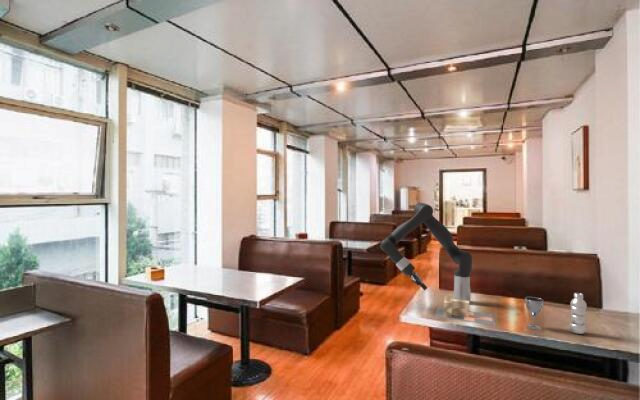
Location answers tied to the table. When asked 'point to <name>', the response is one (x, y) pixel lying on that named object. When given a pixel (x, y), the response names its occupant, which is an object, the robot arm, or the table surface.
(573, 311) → the plastic bottle
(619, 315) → the table surface
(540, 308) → the wine glass
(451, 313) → the maple T block
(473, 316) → the T board
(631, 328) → the table surface
